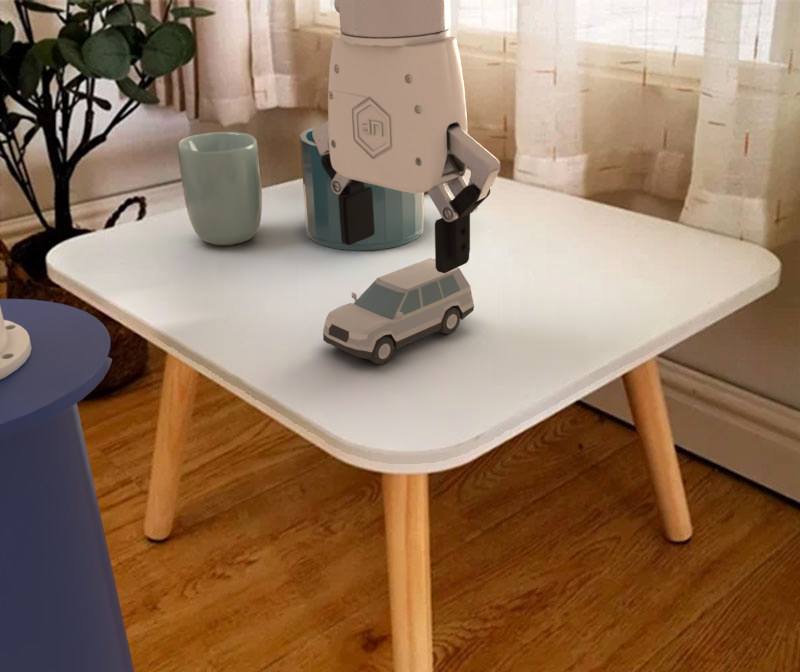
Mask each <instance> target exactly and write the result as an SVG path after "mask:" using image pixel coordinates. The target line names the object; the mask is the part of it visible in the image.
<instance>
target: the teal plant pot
mask: <svg viewBox="0 0 800 672" xmlns="http://www.w3.org/2000/svg"><path fill="white" fill-rule="evenodd" d="M322 124H323V123H322ZM322 124H317V125H313V126H311V127H308V128H307V129H305V130H303V131H302V132H301V133H300V135H299V144H300V158H301V159H300V160H301V161H300V162H301V174H302V187H303V188H302V190H303V203H304V217H305V219H304V220H305V227H306V234H307V237H308V238H309V239H310V240H311V241H312V242H314V243H316V244H318V245H321V246H323V247H327V248H331V249H337V250H343V251H378V250H385V249H391V248H396V247H399V246H403V245H406V244H409V243H412V242H413V241H416V240H417V239H418V238H420V237H421V235H422V234H423V232H424V224H425V194H424V193H418V194H416V193H408V192H403V191H399V190H394V189H390V188H386V187H381V186H377V185H373V184H369V183H365V185H364V187H365V186H370V187H372V193H373V211H374V230H375V232H374V235H372V236H371V237H368V238H366V239H363V240H361V241H359V242H356V243H354V244H351V245H346V244H343V243H342V240H341V227H340V213H339V199H338V196H339V194H336V193H334V192H333V190H332V188H331V182H332V180H331V178H330V177H329V175H328V174H327V172H326V171H325V169H324V168H323V166H322V163H321V158H322V155H320V153H319V151H318V149H317V146H316V144H315V141H314V139H313V136H312V132H313V130H314V129H315V128H317V127H318V126H320V125H322Z"/></svg>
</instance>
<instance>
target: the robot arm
mask: <svg viewBox="0 0 800 672" xmlns="http://www.w3.org/2000/svg"><path fill="white" fill-rule="evenodd" d="M333 7H334V9H335V11H336V12H337V13H339V27H340V28H339V29H340V33H339V34H336V35H334V36H333V39H332V46H331V51H330V60H329V69H328V84H327V85H328V87H327V88H328V89H327V121H325V122H323V123H322V125H321V124H319V125H320V126H318V127H317V128H315V129H314V130H313V132H312V136H313V139H314V141H315V144H316V146H317V149H318V151H319V153H320V155H322V158H321V163H322V166H323V168H324V169H325V171H326V172H327V174H328V175H329V177H330V178H331V180H332V182H331V188H332V190H333V192H334V193H336V194H339V196H338V199H339V213H340V227H341V240H342V243H343V244H346V245H351V244H354V243H356V242H359V241H361V240H363V239H366V238H368V237H371V236H372V235H374V232H375V230H374V211H373V193H372V187H370V186H365V187H364V185H365V183H369V184H373V185H377V186H381V187H386V188H390V189H394V190H399V191H403V192H408V193H416V194H418V193H424V192H428V193H427V195H428V196H429V197H430V199H431V201H432V202H433V204H434V206H435V208H436V210H437V211H438V212H439V214H440V216H441V218H439V219H436V220H435V222H434V255H435V256H434V257H435V258H434V259H435V265H436V269H437V271H438V272H441V273H447V272H449V271H451V270H453V269H455V268H457V267H458V268H460V267H461V266H463V265H466V264H467V263H468V262H469V260H470V252H471V214H473V213H475V212H477V210H478V208H479V206H480V205H481V204H482V203H483V202H484V201H485V200H486V199H487V198H488V197H489V196H490V194H491V188H492V187H493V185H494V182H495V181H496V178H497V176H498V174H499V172H500V170H501V162H500V160H499V159H498V158H497V157H496V156H494V155H493V154H492V153H491V152H489V151H488V150H487V149H486V148H485V147H484V146H483V145H481V144H480V143H479V142H478V141H477V140H475V139H474V138H473V137H472V136H471V135H470V134H469V133H468V114H467V102H466V91H465V83H464V75H463V68H462V62H461V56H460V51H459V46H458V42H457V37H455V36H453V35H451V0H334V1H333ZM467 168H468V169H469V171H470V177H469V179H468V183H467V182H466V180H465V178H464V176H465V174H466V171H467ZM446 187H448V188H449V190H450V192H451V194H452V195H453V197H454V198H452V197H451V195H450V193H449V192H448V190H447V188H446ZM31 349H32V348H31V343H30V337H29V335H28V333H27V331H26V330H25V329H24V328H23V327H21V326H20V325H18V324H15V323H13V322H11V321H7V320H4V319H3V315H2V311H1V307H0V380H1V379H3V378H5V377H7V376H8V375H10V374H12V373H13V372H15V371H16V370H17V369H18V368H19V367H21V366H22V365H23V364H24V363H25V362H26V360H27V359H28V357H29V356H30V353H31Z"/></svg>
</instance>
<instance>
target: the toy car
mask: <svg viewBox="0 0 800 672" xmlns="http://www.w3.org/2000/svg"><path fill="white" fill-rule="evenodd" d="M472 293H473V292H472V288H471V285H470V283H469V281H468V280H467V278H466V276H465V275H464V274H463V272H462V271H461V269H460V267H457V268H455V269H453V270H451V271H449V272H447V273H441V272H438V271H437V269H436V265H435V258H433V257H432V258H430V257H429V258H426V259H423V260H421V261H419V262H416V263H413V264H410V265H407V266H406V267H403V268H400V269H397V270H395V271H392V272H390V273H387V274H384V275H381V276H379V277H377V278H376V279H375V280H374V281H373V282H372V283H371V284H370V285H369V286H368V287H367V289H366V290H365V291H364V292H362V294H361V295H360V296H359V297H358V298H357V294H356V293H355V292H351V294H350V295H351V298H352V299H353V300H354V302H349V303H346V304H343V305H341V306H339V307H337V308H334V309H333V310H332V311H330V312H329V313H327V315H326V319H325V322H324V325H323V330H322V335H323V336H322V337H323V341H324V342H325V343H326V344H329V345H331V346H333V347H334V348H336V349H339V350H341V351H343V352H344V353H347V354H350V355H352V356H355V357H358V358H362V359H367V360H369V362H372V363H374V364H376V365H384V364H385V363H387V362H389V360H390V359H391V358H392V356H393V354H394V350H397V349H401V348H402V347H405V346H407V345H409V344H411V343H413V342H416V341H418V340H420V339H423V338H425V337H427V336H429V335H432V334H433V333H436V332H439V333H443V334H445V335H450V334H452V333H453V332H455V331H456V330H457V328H458V327H459V325H460V321H461V320H462V321H463V320H464V319H465V318H466V317H468V316H469V315H470V314H471V313H472V312H473V311H474V309H475V302H474V298H473V294H472Z"/></svg>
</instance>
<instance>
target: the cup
mask: <svg viewBox="0 0 800 672" xmlns="http://www.w3.org/2000/svg"><path fill="white" fill-rule="evenodd" d="M177 154H178V163H179V171H180V178H181V185H182V191H183V197H184V203H185V207H186V211H187V215H188V220H189V222H190V225H191V227H192V229H193V230H194V232H195V234H196V235H197V236H198V237H199V238H200V239H201V240H202V241H204V242H205V243H207V244H211V245H214V246H233V245H238V244H242V243H245V242H247V241H249V240H250V239H252V238H253V237H254V236H255V235H256V234H257V232H258V230H259V228H260V225H261V221H262V215H263V185H262V184H263V183H262V173H261V172H262V171H261V161H260V152H259V145H258V141H257V139H256V137H255V136H253V135H252V134H249V133H245V132H238V131H219V132H218V131H217V132H207V133H206V132H205V133H200V134H194V135H190V136H188V137H184V138H182V139H181V140H179V142H178V144H177Z"/></svg>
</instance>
